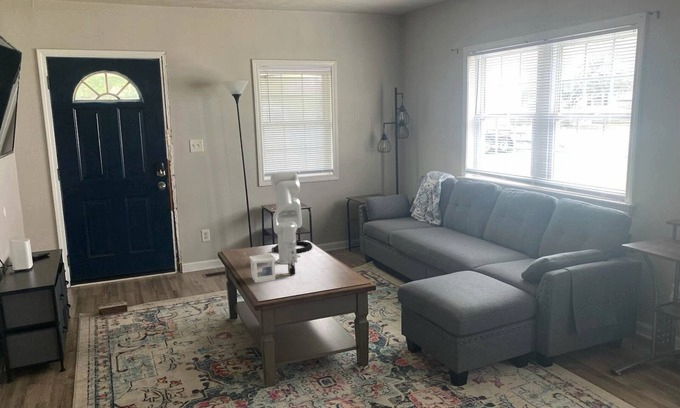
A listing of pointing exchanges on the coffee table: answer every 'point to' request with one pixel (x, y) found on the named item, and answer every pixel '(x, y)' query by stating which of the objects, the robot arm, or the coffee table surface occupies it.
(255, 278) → the white open frame box
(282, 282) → the coffee table surface
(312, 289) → the coffee table surface
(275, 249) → the cable lock
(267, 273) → the block
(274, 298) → the coffee table surface
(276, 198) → the robot arm
